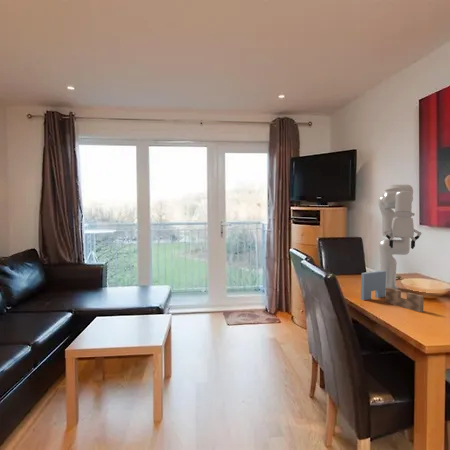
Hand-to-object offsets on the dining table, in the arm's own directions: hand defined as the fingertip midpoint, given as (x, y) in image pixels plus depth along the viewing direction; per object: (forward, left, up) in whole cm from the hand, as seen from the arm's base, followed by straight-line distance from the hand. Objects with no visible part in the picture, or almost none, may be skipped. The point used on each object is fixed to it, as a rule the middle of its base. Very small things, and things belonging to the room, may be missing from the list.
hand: (401, 248), depth 175 cm
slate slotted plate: (-15, -11, -31) cm, 37 cm away
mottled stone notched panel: (-2, +2, -31) cm, 31 cm away
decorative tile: (-80, 0, -32) cm, 86 cm away
